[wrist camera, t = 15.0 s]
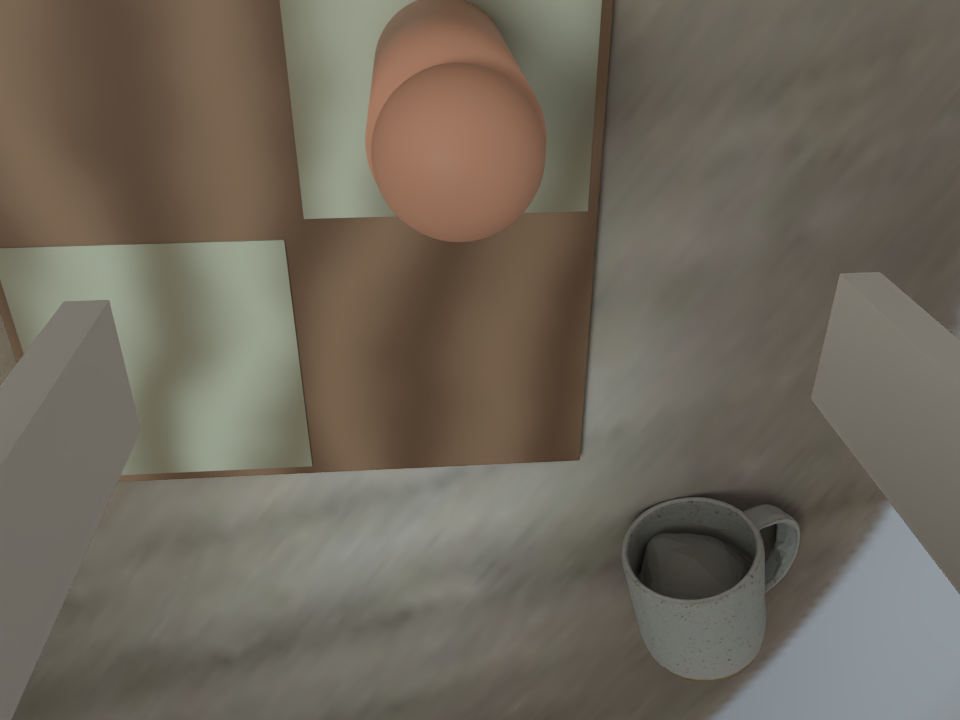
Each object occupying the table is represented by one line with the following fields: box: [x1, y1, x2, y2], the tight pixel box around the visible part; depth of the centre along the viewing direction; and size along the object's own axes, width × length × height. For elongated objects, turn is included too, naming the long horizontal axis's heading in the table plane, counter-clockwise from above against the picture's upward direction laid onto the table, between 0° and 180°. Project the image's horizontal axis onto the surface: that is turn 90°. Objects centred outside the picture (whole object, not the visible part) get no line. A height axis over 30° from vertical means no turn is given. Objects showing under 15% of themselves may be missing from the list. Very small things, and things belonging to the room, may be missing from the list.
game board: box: [0, 0, 613, 482], centre depth 39 cm, size 28×28×1 cm
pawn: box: [365, 0, 547, 242], centre depth 30 cm, size 6×6×15 cm
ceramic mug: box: [621, 497, 800, 682], centre depth 49 cm, size 11×8×8 cm
